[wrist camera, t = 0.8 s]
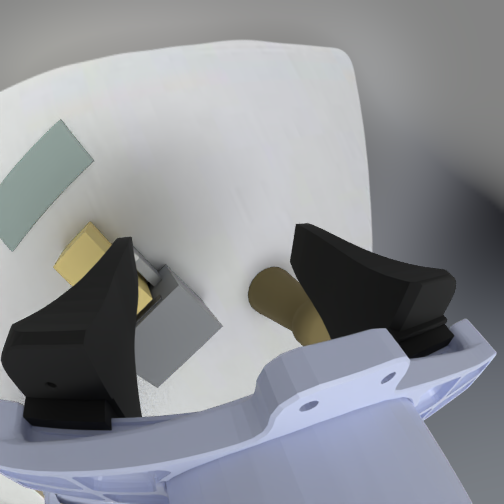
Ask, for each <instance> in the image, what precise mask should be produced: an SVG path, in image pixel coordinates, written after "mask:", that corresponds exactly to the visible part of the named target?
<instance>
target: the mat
mask: <svg viewBox="0 0 504 504" xmlns="http://www.w3.org/2000/svg"><path fill="white" fill-rule="evenodd" d="M93 161H94V160H93V159H92V158H91V157H90V156H89V154H88V153H87V152H86V151H85V149H84V148H83V147H82V146H81V145H80V143H79V142H78V141H77V140H76V138H75V137H74V136H73V134H72V133H71V132H70V131H69V129H68V128H67V127H66V126H65V124H64V123H63V122H62V120H61V119H60V120H59V121H58V122H57V123H56V124H55V125H54V126H53V127H52V128H51V129H50V130H49V131H48V132H47V133H46V134H45V135H44V136H43V137H42V138H41V139H40V140H39V141H38V142H37V143H36V144H35V145H34V146H33V147H32V148H31V149H30V150H29V151H28V152H27V153H26V154H25V156H24V157H23V158H22V159H21V160H20V161H19V162H18V163H17V165H16V166H15V167H14V168H13V169H12V170H11V172H10V173H9V174H8V175H7V177H6V178H5V179H4V180H3V182H2V183H1V184H0V238H1V240H2V241H3V242H4V243H5V244H6V245H7V247H8V248H9V249H10V250H11V251H12V252H13V251H14V249H15V248H16V247H17V245H18V244H19V243H20V241H21V240H22V239H23V238H24V236H25V235H26V234H27V233H28V231H29V230H30V229H31V228H32V226H33V225H34V224H35V223H36V221H37V220H38V219H39V218H40V217H41V216H42V214H43V213H44V212H45V211H46V210H47V209H48V208H49V206H50V205H51V204H52V203H53V202H54V201H55V200H56V199H57V198H58V196H59V195H60V194H61V193H62V192H63V191H64V190H65V189H66V188H67V187H68V186H69V185H70V184H71V183H72V182H73V181H74V180H75V179H76V178H77V177H78V176H79V175H80V174H81V173H82V172H83V171H84V170H85V169H86V168H87V167H88V166H89V165H90V164H91V163H92V162H93Z"/></svg>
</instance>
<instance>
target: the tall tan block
mask: <svg viewBox="0 0 504 504" xmlns="http://www.w3.org/2000/svg"><path fill="white" fill-rule="evenodd" d="M111 245H112V244H111V243H110V242H109V241H108V240H107V239H106V238H105V237H104V236H103V235H102V234H101V233H100V232H99V230H98V229H97V228H96V227H95V226H94V225H93V224H92V223H91V222H89V223H88V224H87V225H86V226H85V227H84V228H83V229H82V230H81V232H80V233H79V234H78V235H77V236H76V237H75V238H74V239H73V240H72V241H71V242H70V244H69V245H68V246H67V247H66V248H65V249H64V250H63V252H62V253H61V255H60V257H59V258H58V260H57V262H56V263H55V265H54V267H53V268H54V269H55V270H56V271H57V272H58V273H59V274H60V275H61V276H62V277H63V278H64V279H65V280H66V281H67V282H68V283H69V284H70V285H72V286H74V285H75V284H76V283H77V282H78V281H80V280H81V279H82V278H83V277H84V276H85V275H86V274H87V273H88V271H89V270H90V269H91V268H92V267H93V266H94V265H95V264H96V263H97V262H98V261H99V260H100V258H101V257H102V256H103V255H104V254H105V252H106V251H107V250H108V249H109V248H110V246H111ZM137 273H138V295H139V297H138V307H137V314H138V313H139V312H140V311H141V310H142V309H143V308H144V307H145V306H146V305H147V304H148V303H149V302H150V301H151V300H152V299H153V298H152V296H151V293H150V290H149V288H148V285H147V282H146V279H145V277H143V276H142V275H141V274H140V273H139V272H138V271H137Z"/></svg>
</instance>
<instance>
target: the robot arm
mask: <svg viewBox="0 0 504 504" xmlns="http://www.w3.org/2000/svg"><path fill="white" fill-rule="evenodd" d="M290 263H291V265H292V268H293V270H294V273H295V275H296V277H297V279H298V281H299V283H300V284H301V286H302V288H303V289H304V291H305V292H306V294H307V296H308V297H309V299H310V300H311V302H312V304H313V305H314V307H315V308H316V310H317V312H318V313H319V315H320V317H321V319H322V321H323V323H324V325H325V327H326V329H327V331H328V334H329V336H330V338H331V340H328V341H324V342H320V343H316V344H311V345H307V346H302V347H298V348H296V349H293V350H290V351H288V352H285V353H282V354H280V355H279V356H277V357H276V358H275V359H273V360H272V361H270V362H269V363H268V364H266V365H265V367H264V368H263V370H262V372H261V373H260V375H259V377H258V378H257V381H256V388H255V392H254V394H251V395H249V396H246V397H243V398H240V399H237V400H234V401H232V402H229V403H226V404H223V405H220V406H216V407H213V408H210V409H207V410H204V411H200V412H192V413H184V414H174V415H164V416H152V417H142V414H141V408H140V401H139V394H138V385H137V375H136V363H135V329H136V318H137V307H138V297H139V295H138V273H137V268H136V262H135V256H134V250H133V244H132V237H124V238H117V239H116V240H115V242H114V243H113V244H112V245H111V246H110V248H109V249H108V250H107V251H106V252H105V254H104V255H103V256H102V257H101V258H100V260H99V261H98V262H97V263H96V264H95V265H94V266H93V267H92V268H91V269H90V270H89V271H88V273H87V274H86V275H85V276H84V277H83V278H82V279H81V280H80V281H78V282H77V283H76V284H75V285H74V286H73V287H72V288H70V289H69V290H68V291H67V292H65V293H64V294H63V295H61V296H60V297H59V298H57V299H56V300H55V301H53V302H52V303H50V304H49V305H47V306H46V307H44V308H43V309H41V310H39V311H38V312H36V313H34V314H32V315H30V316H28V317H26V318H24V319H22V320H20V321H18V322H16V323H14V324H12V326H11V328H10V331H9V334H8V336H7V339H6V342H5V345H4V348H3V351H2V355H1V362H2V365H3V368H4V369H5V371H6V373H7V374H8V376H9V377H10V378H11V380H12V381H13V382H14V383H15V385H16V386H17V387H18V388H19V389H20V391H21V392H22V393H23V394H24V395H25V396H26V399H25V405H23V404H21V403H19V402H15V401H9V400H1V399H0V474H2V475H4V476H6V477H7V478H9V479H11V480H13V481H14V482H16V483H18V484H20V485H22V486H24V487H26V488H30V489H34V490H39V491H43V494H44V496H45V504H60V503H63V504H473V503H472V501H471V500H470V498H469V496H468V494H467V493H466V491H465V489H464V487H463V485H462V484H461V482H460V480H459V478H458V477H457V475H456V473H455V472H454V470H453V468H452V467H451V465H450V463H449V462H448V460H447V458H446V457H445V455H444V453H443V452H442V450H441V448H440V447H439V445H438V443H437V442H436V440H435V439H434V437H433V435H432V434H431V432H430V431H429V429H428V428H427V426H426V424H425V423H424V421H423V420H425V419H426V418H428V417H429V416H431V415H432V414H433V413H435V412H436V411H438V410H439V409H440V408H442V407H443V406H445V405H446V404H447V403H449V402H450V401H451V400H453V399H454V398H455V397H457V396H458V395H459V394H461V393H462V392H463V391H465V390H466V389H467V388H469V387H470V385H471V384H472V383H473V382H474V381H475V380H476V379H477V377H478V376H479V375H480V374H481V373H482V372H483V370H484V369H485V368H486V367H487V366H488V364H489V363H490V362H491V360H492V359H493V358H494V357H495V355H496V351H495V350H494V349H493V348H492V347H491V345H490V344H489V343H488V342H487V341H486V340H485V338H484V337H483V336H482V335H481V334H480V333H479V332H478V331H477V329H476V328H475V327H474V326H473V325H472V324H471V323H470V322H469V321H468V320H467V319H463V320H461V321H459V322H457V323H455V324H453V325H452V326H451V327H450V328H449V329H448V328H447V326H446V325H445V323H446V322H447V319H446V317H444V315H443V314H444V312H445V310H446V309H447V307H448V305H449V303H450V301H451V299H452V297H453V295H454V293H455V289H456V280H455V278H454V277H453V276H452V275H451V274H450V273H449V272H447V271H446V270H444V269H436V268H429V267H422V266H417V265H412V264H408V263H404V262H400V261H396V260H393V259H389V258H386V257H383V256H380V255H378V254H375V253H372V252H370V251H367V250H365V249H363V248H360V247H358V246H356V245H354V244H352V243H349V242H347V241H345V240H343V239H341V238H339V237H337V236H335V235H333V234H331V233H329V232H327V231H325V230H323V229H321V228H319V227H317V226H314V225H312V224H309V223H305V224H296V227H295V234H294V240H293V246H292V253H291V259H290Z"/></svg>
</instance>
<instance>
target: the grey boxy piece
mask: <svg viewBox="0 0 504 504" xmlns="http://www.w3.org/2000/svg"><path fill="white" fill-rule="evenodd" d="M133 250H134V256H135V262H136V268H137V271H139V272H140V273H141V274H142V275H143V276H144V277H145V278H146V279H147V280H148V281H149V282H148V283H147V285H148V288H149V290H150V293H151V296H152V298H153V299H152V300H151V301H150V302H149V303H148V304H147V305H146V306H145V307H144V308H143V309H142V310H141V311H140V312H139V313H138V314H137V318H136V329H135V363H136V374H137V375H138V376H140V377H141V378H143V379H145V380H146V381H148V382H149V383H151V384H152V385H154V386H155V387H157V388H158V387H159V386H160V385H161V384H162V383H163V382H164V381H165V380H167V379H168V378H169V377H170V376H171V375H172V374H173V373H174V372H175V371H176V370H177V369H178V368H179V367H180V366H182V365H183V364H184V363H185V362H186V361H187V360H188V359H189V358H190V357H191V356H192V355H193V354H194V353H195V352H196V351H197V350H199V349H200V348H201V347H202V346H203V345H204V344H205V343H206V342H207V341H208V340H209V339H210V338H211V337H212V336H213V335H214V334H215V333H216V332H217V331H218V330H219V329H220V328H221V327H222V325H221V323H220V322H219V321H218V320H217V318H216V317H215V316H214V315H213V313H212V312H211V311H210V310H209V308H208V307H207V306H206V305H205V303H204V302H203V301H202V300H201V299H200V298H199V297H198V296H197V295H196V294H195V293H194V292H193V291H192V290H191V289H190V288H189V287H188V286H187V285H186V284H185V283H184V282H183V281H182V280H181V279H180V278H179V277H178V276H177V275H176V274H175V273H174V272H173V271H172V270H171V269H170V268H169V267H168V266H167V265H165V266H164V267H163V268H162V269H161V270H160V271H159V272H158V271H157V270H156V269H155V268H154V267H153V266H152V265H151V264H150V263H149V262H148V261H147V260H146V259H145V258H144V257H143V256H142V255H141V254H140V253H139V252H138V251H137V250H136V249H135V248H134V247H133Z"/></svg>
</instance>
